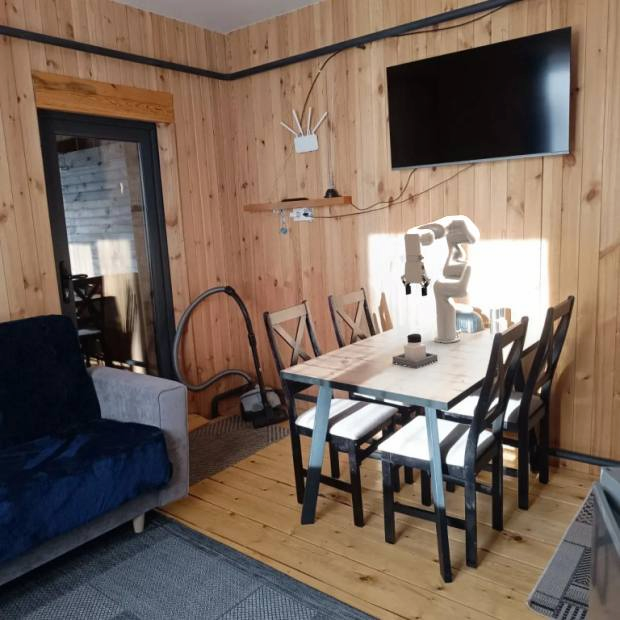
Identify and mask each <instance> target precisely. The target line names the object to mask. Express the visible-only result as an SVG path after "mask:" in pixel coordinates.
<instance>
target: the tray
mask: <svg viewBox="0 0 620 620" xmlns="http://www.w3.org/2000/svg"><path fill="white" fill-rule="evenodd" d="M435 361H437V362H438V361H439V357H438V354H435V353H430V352H426V358H423V359H420V360H417V361H415V360H410V359H405V354H404V352H403V353H401V354H398V355H394V356H392V364H394V363H397V364H396V365H399V364H401V365H400V366H403V365H406V366H405V367H408V366H410V367H409V368H412V367H416V368H415V369H418V368H417V367H419V368H421V367H420V366H422V367H425V366H428V365H431V364H433V363H432V362H434V363H436V362H435ZM430 363H431V364H430ZM427 364H428V365H427ZM424 365H425V366H424Z"/></svg>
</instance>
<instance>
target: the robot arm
mask: <svg viewBox="0 0 620 620" xmlns="http://www.w3.org/2000/svg"><path fill="white" fill-rule="evenodd" d="M479 231H480V230H479V229H478V227H477V226H476V225H475V224H474V223H473V221H471V219H470V218H469V217H467V216H465V215H450V216H449V215H447V216H446V217H445V216H444V217H443V218H441V219H437V220H436V221H434V222H429V223H426V224H422V225H419V226H415V227H412V228H410V229H408V230H407V231H406V233H405V234H404V249H405V263H404V274H403V275H401V276H400V280H401V282H402V284H403V286H404V287H405V288H404V289H405V295H406V296H409V295H411V294H412V286H411V284H417V285H418V284H419V285H420V286H421V296H422V297H426V296H428V287H429V285H430V284H431V280H432V279H431V277H430V276H429V275H427V268H426V263H425V261H423V260H424V258H425V257H424V256H423V247H428V246H430V245H432V244H433V243H434V242H435V240H441V239H443V238H444V237H445V239H446V244H447V247H448V256H447V258H446V261H445V264H444V265H443V269H442V277H444V278H439V279H436V280H435V281H434V283H433V287H432V288H433V289H432V290H433V295H434V298H435V306H436V307H435V309H436V331H437V332H436V334H437V336H435V337H434V342H437V343H440V342H441V343H443V344H447V343H449V344H451V343H457V342H460V340H461V338H460V336H458V335H459V334H462V332H463V330H462V329H459V330H458V329H457V311H456V310H457V308H456V304H455V301H454V299H464V298H466V297H467V296H468V294H469V292H470V289H471V286H472V283H473V280H474V277H475V274H476V267H475V265H474V263H473V262H472V261H471V260H470V261H469V260H466V252H465V250H464V249H463V247H462V246H461V245H474V244H476V243H478V242H479V240H480V232H479Z"/></svg>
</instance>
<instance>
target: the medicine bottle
mask: <svg viewBox="0 0 620 620" xmlns="http://www.w3.org/2000/svg"><path fill="white" fill-rule="evenodd" d="M403 350H404V351H403V353H404V354H405V359H410V360H415V361H417V360H420V359H423V358H426V353H427V348H426V344H422V335H421V334H420V333H416V332H415V333H409V334H407V344H404V345H403Z"/></svg>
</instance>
